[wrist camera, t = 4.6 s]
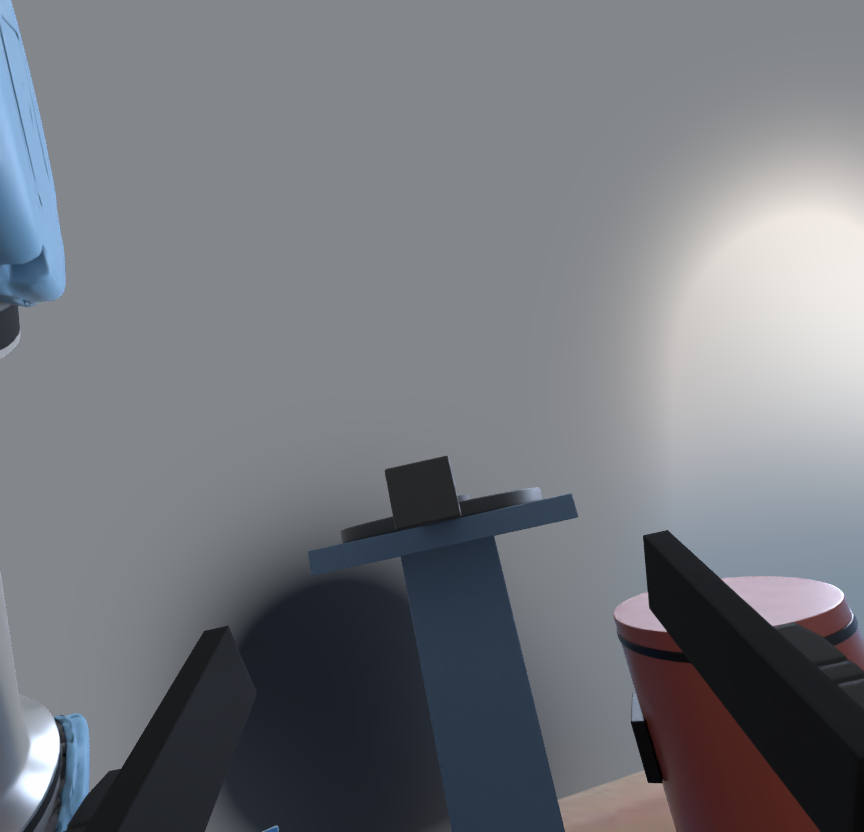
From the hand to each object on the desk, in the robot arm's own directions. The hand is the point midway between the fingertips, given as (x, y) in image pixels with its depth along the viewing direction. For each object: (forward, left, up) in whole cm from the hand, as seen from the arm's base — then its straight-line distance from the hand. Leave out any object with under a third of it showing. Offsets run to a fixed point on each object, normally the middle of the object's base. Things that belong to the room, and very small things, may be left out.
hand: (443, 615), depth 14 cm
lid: (-3, +16, +3) cm, 16 cm away
